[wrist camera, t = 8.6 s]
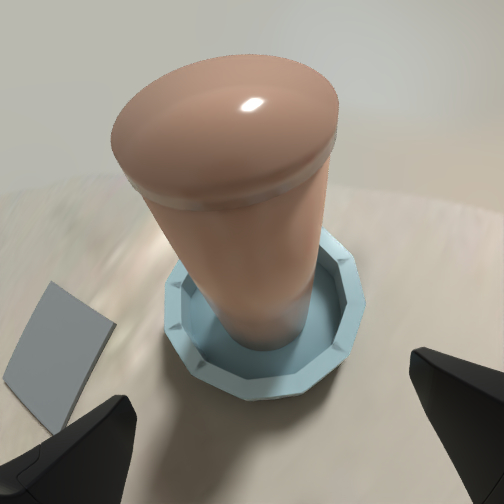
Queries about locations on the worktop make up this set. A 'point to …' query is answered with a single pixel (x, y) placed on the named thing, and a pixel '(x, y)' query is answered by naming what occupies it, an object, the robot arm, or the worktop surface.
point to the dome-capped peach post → (237, 183)
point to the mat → (56, 356)
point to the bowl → (276, 361)
